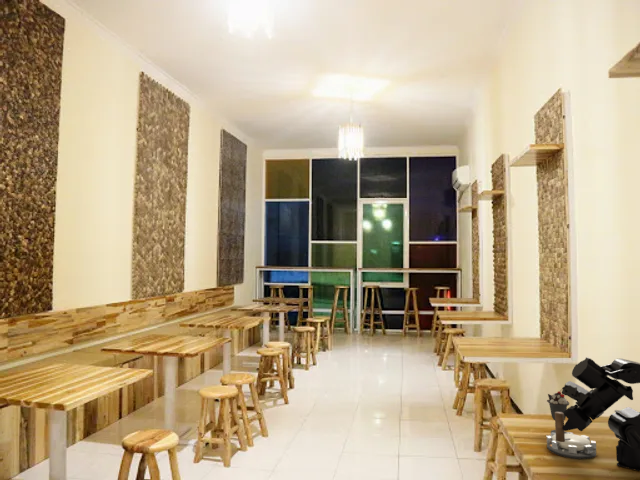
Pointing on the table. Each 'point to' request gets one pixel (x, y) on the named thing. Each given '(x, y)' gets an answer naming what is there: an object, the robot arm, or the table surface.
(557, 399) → the sundae
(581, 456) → the dial plate
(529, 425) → the table surface
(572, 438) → the dial
